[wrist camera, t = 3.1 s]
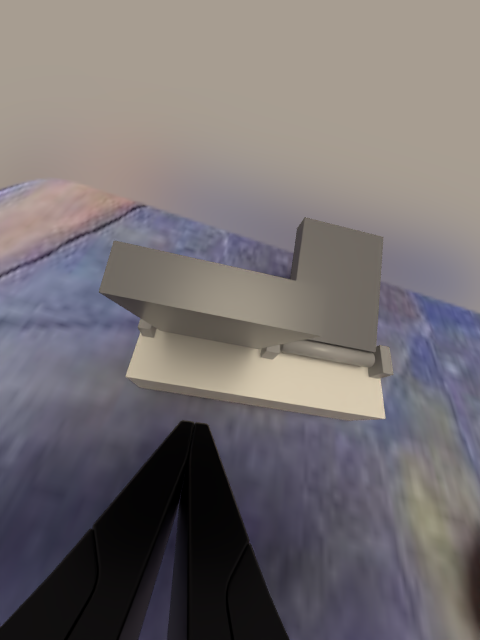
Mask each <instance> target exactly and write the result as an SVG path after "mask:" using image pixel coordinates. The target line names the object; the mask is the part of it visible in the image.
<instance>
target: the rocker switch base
mask: <svg viewBox="0 0 480 640" xmlns="http://www.w3.org/2000/svg"><path fill="white" fill-rule="evenodd" d="M138 329H139V331H140V335H139V338H138V341H137V344H136V347H135V350H134V353H133V356H132V359H131V362H130V365H129V368H128V371H127V374H126V377H127V378H128V379H129V380H131V381H132V382H133V383H134V384H136V385H137V386H138V387H140V388H146V389H152V390H159V391H165V392H171V393H177V394H184V395H190V396H196V397H203V398H209V399H215V400H221V401H228V402H234V403H240V404H246V405H253V406H259V407H265V408H272V409H278V410H284V411H290V412H297V413H303V414H309V415H316V416H322V417H328V418H334V419H341V420H347V421H353V420H375V419H385V412H384V404H383V396H382V388H381V380H380V378H383V377H387V376H391V375H393V369H392V362H391V355H390V349H389V347H386V346H381V345H379V346H377V347H376V352H372V353H373V354H374V356H375V362H374V365H373V366H372V367H370V368H368V367H362V366H357V365H352V364H346V363H341V362H336V361H330V360H325V359H319V358H314V357H309V356H303V355H298V354H293V353H287V352H282V351H280V345H275V346H270V347H265V348H260V349H255V348H250V347H245V346H239V345H234V344H228V343H223V342H218V341H212V340H207V339H201V338H196V337H191V336H185V335H180V334H175V333H169V332H164V331H160V330H159V329H157V328H155V327H154V326H152V325H151V324H149V323H147V322H146V321H144V320H143V319H140V322H139V325H138Z"/></svg>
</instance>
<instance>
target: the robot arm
mask: <svg viewBox="0 0 480 640" xmlns="http://www.w3.org/2000/svg"><path fill="white" fill-rule="evenodd" d="M193 429H194V430H193ZM192 434H193V435H192ZM185 470H186V471H185ZM184 475H185V476H184ZM183 480H184V481H183ZM182 485H183V486H182ZM181 490H182V491H181ZM180 495H181V497H180ZM179 500H180V503H179ZM178 504H179V511H178V521H177V533H176V544H175V556H174V567H173V578H172V590H171V601H170V613H169V624H168V635H167V640H290V639H289V637H288V635H287V633H286V631H285V628H284V626H283V624H282V621H281V619H280V617H279V615H278V612H277V610H276V608H275V605H274V603H273V601H272V598H271V596H270V594H269V591H268V589H267V586H266V583H265V581H264V578H263V575H262V573H261V570H260V568H259V565H258V562H257V560H256V557H255V554H254V551H253V548H252V545H251V544H249V537H248V535H247V532H246V529H245V526H244V523H243V521H242V518H241V515H240V512H239V509H238V507H237V504H236V501H235V498H234V495H233V492H232V490H231V487H230V484H229V481H228V478H227V476H226V473H225V470H224V467H223V464H222V461H221V459H220V456H219V453H218V450H217V447H216V445H215V442H214V439H213V436H212V433H211V431H210V428H209V425H208V424H206V423H199V422H196V423H195V425H194V422H192V421H185V420H182V421H181V422H180V423H179V424H178V425H177V426H176V427H175V428H174V430H173V431H172V432H171V433H170V434H169V436H168V437H167V438H166V439H165V440H164V441H163V443H162V444H161V445H160V446H159V447H158V449H157V450H156V451H155V452H154V453H153V455H152V456H151V457H150V458H149V459H148V460H147V462H146V463H145V464H144V465H143V466H142V468H141V469H140V470H139V471H138V472H137V473H136V475H135V476H134V477H133V478H132V479H131V481H130V482H129V483H128V484H127V485H126V487H125V488H124V489H123V490H122V491H121V492H120V494H119V495H118V496H117V497H116V498H115V500H114V501H113V502H112V503H111V504H110V506H109V507H108V508H107V509H106V510H105V511H104V513H103V514H102V515H101V516H100V517H99V519H98V520H97V521H96V522H95V523H94V524H93V527H92V529H89V530H88V531H87V533H86V534H85V535H84V536H83V537H82V538H81V540H80V541H79V542H78V543H77V544H76V546H75V547H74V548H73V549H72V550H71V551H70V552H69V554H68V555H67V556H66V557H65V558H64V559H63V560H62V562H61V563H60V564H59V565H58V566H57V567H56V568H55V570H54V571H53V572H52V573H51V574H50V575H49V576H48V577H47V579H46V580H45V581H44V582H43V583H42V584H41V585H40V586H39V587H38V588H37V589H36V590H35V591H34V592H33V593H32V594H31V595H30V597H29V598H28V599H27V600H26V601H25V602H24V603H23V604H22V605H21V606H20V607H19V608H18V609H17V610H16V611H15V612H14V613H13V614H12V615H11V617H10V618H9V619H8V620H7V621H6V622H5V623H4V624H3V625H2V626H1V627H0V640H138V638H139V634H140V631H141V628H142V624H143V621H144V618H145V614H146V611H147V608H148V605H149V601H150V598H151V595H152V591H153V588H154V585H155V581H156V578H157V575H158V571H159V568H160V565H161V562H162V558H163V555H164V552H165V548H166V545H167V542H168V538H169V535H170V532H171V528H172V525H173V522H174V518H175V515H176V512H177V508H178Z"/></svg>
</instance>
